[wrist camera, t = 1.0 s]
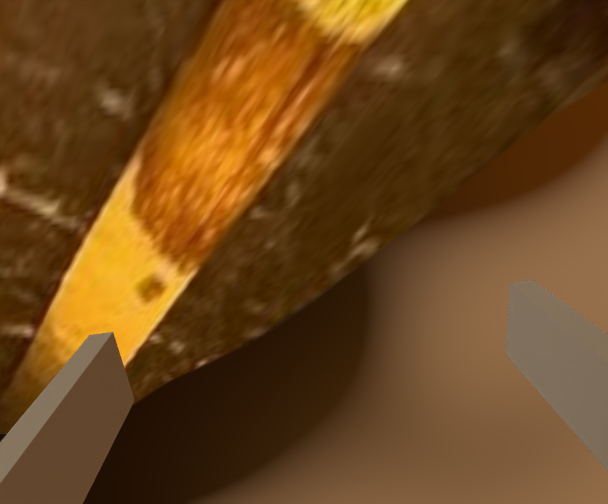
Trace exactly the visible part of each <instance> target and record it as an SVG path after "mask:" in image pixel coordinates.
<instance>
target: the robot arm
mask: <svg viewBox="0 0 608 504" xmlns="http://www.w3.org/2000/svg"><path fill="white" fill-rule="evenodd" d="M506 355H507V356H508V357H509V359H510V360H511V361H512V362H513V363H514V364H515V365H516V367H517V368H518V369H519V370H520V371H521V372H522V373H523V375H524V376H525V377H526V378H527V379H528V380H529V381H530V383H531V384H532V385H533V386H534V387H535V388H536V389H537V391H538V392H539V393H540V394H541V395H542V396H543V397H544V398H545V400H546V401H547V402H548V403H549V404H550V405H551V407H552V408H553V409H554V410H555V411H556V412H557V413H558V414H559V416H560V417H561V418H562V419H563V420H564V421H565V423H566V424H567V425H568V426H569V427H570V428H571V429H572V431H573V432H574V433H575V434H576V435H577V436H578V437H579V439H580V440H581V441H582V442H583V443H584V444H585V445H586V446H587V448H588V449H589V450H590V451H591V452H592V453H593V455H594V456H595V457H596V458H597V459H598V460H599V461H600V463H601V464H602V465H603V466H604V467H605V468H606V469H607V470H608V334H607V333H606V332H604V331H603V330H602V329H600V328H599V327H598V326H596V325H595V324H594V323H592V322H591V321H589V320H588V319H587V318H585V317H584V316H582V315H581V314H580V313H578V312H577V311H575V310H574V309H573V308H571V307H570V306H568V305H567V304H566V303H564V302H563V301H562V300H560V299H559V298H557V297H556V296H555V295H553V294H552V293H550V292H549V291H548V290H546V289H545V288H543V287H542V286H541V285H539V284H538V283H536V282H535V281H533V280H531V281H522V282H514V283H510V291H509V306H508V323H507V339H506ZM133 402H134V397H133V394H132V391H131V388H130V384H129V381H128V378H127V375H126V372H125V369H124V365H123V362H122V359H121V356H120V353H119V350H118V347H117V343H116V340H115V337H114V334H113V332H111V333H103V334H95V335H89V337H88V338H87V339H86V340H85V341H84V343H83V344H82V345H81V346H80V347H79V349H78V350H77V351H76V352H75V353H74V355H73V356H72V357H71V358H70V359H69V361H68V362H67V363H66V364H65V365H64V367H63V368H62V369H61V370H60V371H59V373H58V374H57V375H56V376H55V377H54V378H53V380H52V381H51V382H50V383H49V384H48V386H47V387H46V388H45V389H44V390H43V392H42V393H41V394H40V395H39V396H38V398H37V399H36V400H35V401H34V402H33V404H32V405H31V406H30V407H29V408H28V410H27V411H26V412H25V413H24V414H23V416H22V417H21V418H20V419H19V420H18V422H17V423H16V424H15V425H14V426H13V428H12V429H11V430H10V431H9V432H8V434H0V504H82V503H83V501H84V499H85V497H86V495H87V493H88V492H89V490H90V488H91V486H92V484H93V482H94V480H95V478H96V476H97V474H98V472H99V470H100V467H101V466H102V464H103V462H104V459H105V458H106V456H107V454H108V452H109V450H110V448H111V446H112V444H113V442H114V440H115V438H116V436H117V434H118V432H119V430H120V428H121V426H122V424H123V422H124V420H125V418H126V416H127V414H128V412H129V410H130V408H131V406H132V404H133Z"/></svg>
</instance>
